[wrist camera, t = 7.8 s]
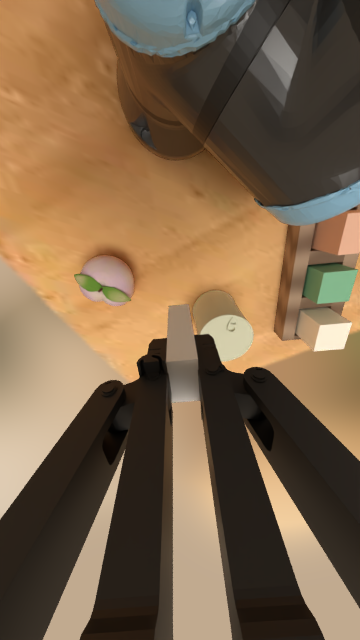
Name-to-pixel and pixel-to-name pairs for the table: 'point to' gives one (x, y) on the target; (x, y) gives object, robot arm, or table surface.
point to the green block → (329, 282)
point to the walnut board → (302, 278)
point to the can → (223, 324)
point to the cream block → (322, 328)
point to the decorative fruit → (106, 280)
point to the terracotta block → (338, 234)
